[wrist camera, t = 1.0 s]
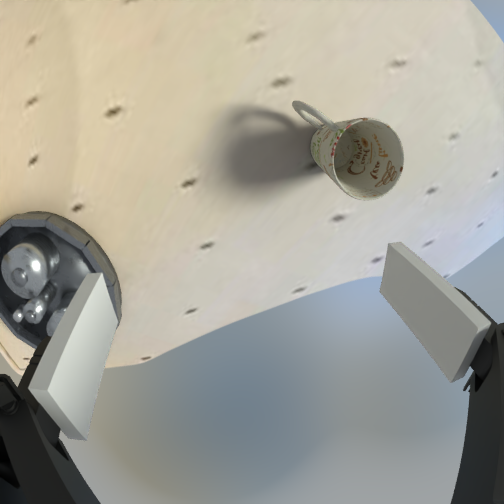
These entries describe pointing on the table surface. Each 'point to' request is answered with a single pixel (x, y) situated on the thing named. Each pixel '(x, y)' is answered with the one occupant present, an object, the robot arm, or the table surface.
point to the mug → (356, 153)
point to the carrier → (47, 272)
